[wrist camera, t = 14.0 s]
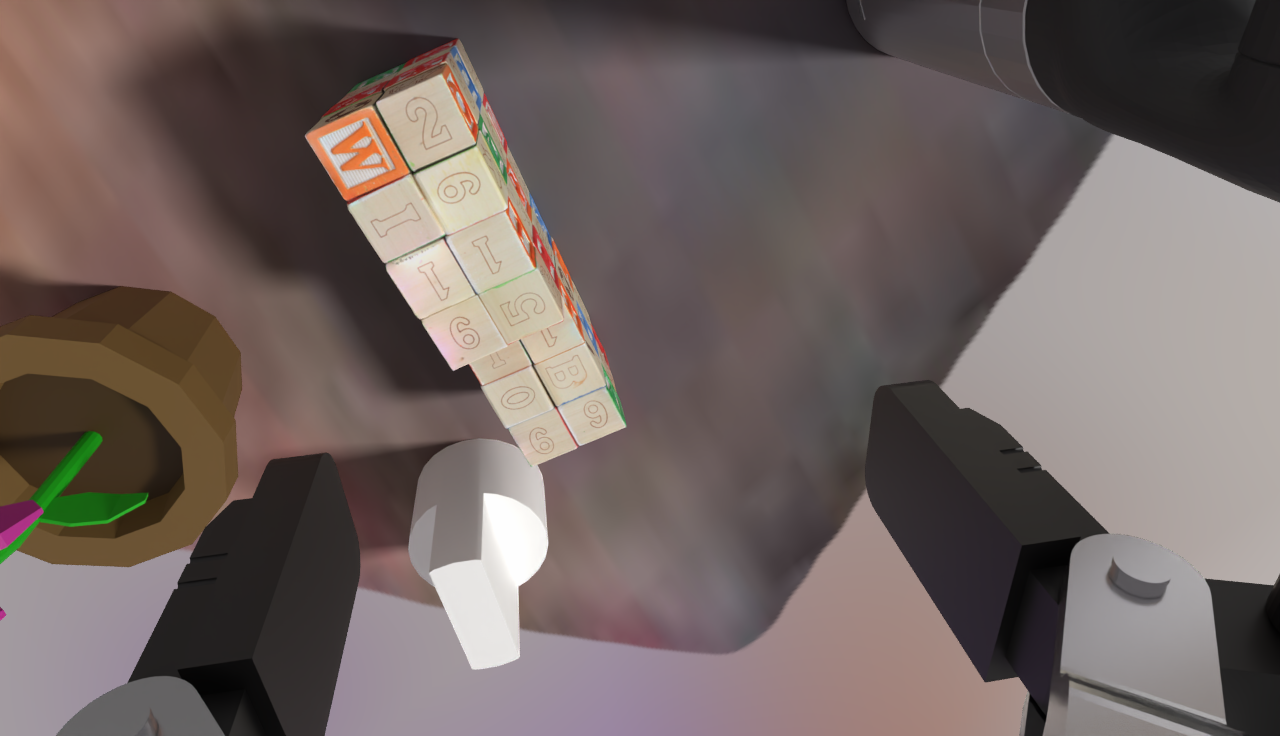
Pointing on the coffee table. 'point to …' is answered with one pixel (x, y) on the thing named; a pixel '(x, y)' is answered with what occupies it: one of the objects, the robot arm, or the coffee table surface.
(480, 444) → the cylinder with rectangular tab
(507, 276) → the stack of blocks
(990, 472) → the robot arm
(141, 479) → the flowerpot
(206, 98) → the coffee table surface
